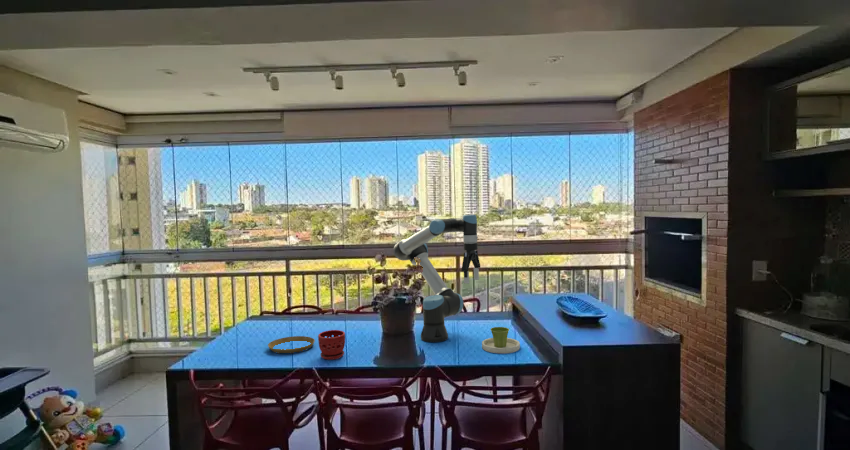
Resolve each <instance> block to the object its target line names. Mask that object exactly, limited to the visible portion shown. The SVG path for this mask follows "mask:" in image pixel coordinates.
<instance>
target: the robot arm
mask: <svg viewBox="0 0 850 450" xmlns="http://www.w3.org/2000/svg"><path fill="white" fill-rule="evenodd" d="M477 219H478V218H477V215H476V214H463V215H462V218H437V219H432V220H431V221H430V223H429V225H427V226H426V227H424V228H422V229H420V230H419V231H417V232H416V233H414V234H413V235H411V236H409V237H408V238H405V239H404V238H403V239H401V240H400V241H399V240H398V242H396V243H395V245H394V246H393V254H394V255H393V256H395V258H396V259H398V260H400V261H410V263H411V264H412V266H416V262H415V260H414V257H418V258H420V260H421V262H420V265H421V266H422V267H423V272H422V273H421V272H420V275H422V277H423V278H424V280H425V282H426V284H427V285H428V286H429V288H430V290H431V292H432V293H433V295H432V294H431V295H428V296H426V297H424V299H423V300H422V312H423V313H422V317H423V318H422V319H423V327H422V328H421V329H422V330H421V333H420V339H421V341H422V342H426V343H440V342H444V341H446V340H448V339H449V334H448V331H447V328H446V325H445V318H447V317H451V316H455V315H458V314H460V313H461V312H462V311H463V309H464V299H463V297H462V295H461V294H460V293H457V292H454V290H453V289H452V288H450V287H448V286H447V285H446V282H444V280H443V278H442V277H441V276H440V274H439V272H438V271H437V270H436V268H435V267H434V265H433V263H431V261H430V259H429V250H428V249H429V248H428V245H427V244H426V243H428V242H430V241H431V240H433V239H435V238H437V237H439V236H440V235H442V234H447V233H458V232H460V233H462V234H463V237H462V239H463V250H464V251H466V252H463V258H462V264H461V265H462V266H461V272H463V283H464V284H468V285H469V284H470V271H469V269H470V265H471V262H472V265H473V280H475V281H477V280H478V281H479V280H480V276H479V275H480V272H479V269H481V263H480V258H479V252H478V248H479V246H478V243H477V242H478V238H479V237H478V220H477Z"/></svg>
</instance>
